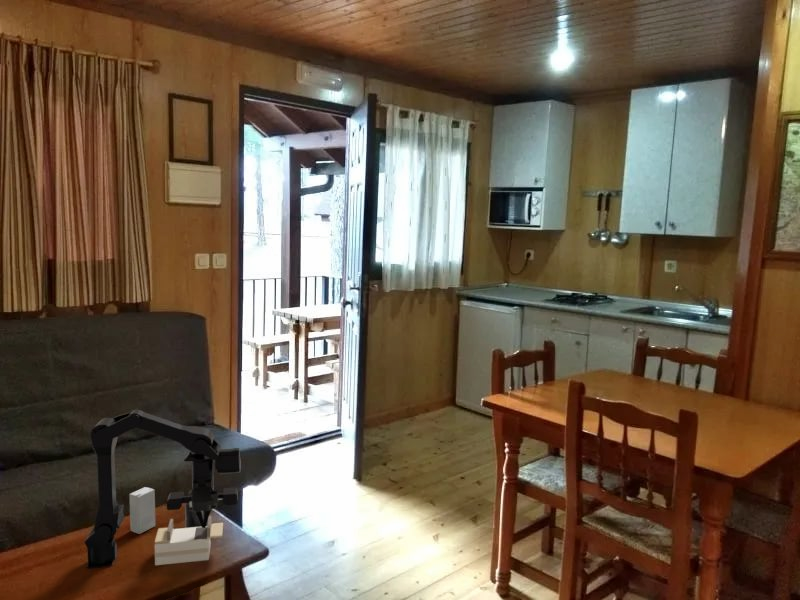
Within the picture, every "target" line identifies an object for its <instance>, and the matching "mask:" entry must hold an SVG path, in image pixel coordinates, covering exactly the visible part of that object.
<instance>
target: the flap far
mask: <svg viewBox="0 0 800 600" xmlns="http://www.w3.org/2000/svg"><path fill="white" fill-rule="evenodd" d="M212 520H213V518H212V515H209V517H208V524H207V539H208V538H210V539H216V538H217V539H218V538H223V531H224V529H223V528H224V522H217V523H212V522H213V521H212Z"/></svg>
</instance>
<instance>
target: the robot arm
mask: <svg viewBox="0 0 800 600" xmlns="http://www.w3.org/2000/svg"><path fill="white" fill-rule="evenodd" d="M133 429H139V430H142V431H144V432H146V433H147V432H148V433H150V434H154V435H156V436H159V437H162V438H166V439H168V440H171V441H173V442H177V444H180V445H181V446H182V447H184V448H185V449H187V450H188V451H189V452H188V453H187V454H185V457H184V459H183V461H184V462H191V484H192V485H191V486H192V487H191V488H192V489H191V490H192V492H191V495H190V496H188V495H185V492H184V491H174V492H170V493H169V494H168V497H167V499H166V510H168V511H176V510H178V511H179V510H180V509H181V508H182V507H183V504H185V503H189V505H190V507H189V510H190V511H194V512H195V513H196V515H197V516H198V518H199V521H200V523H201V526H202V528H205V527H206V524H207V520H208V517H209V516H211V515H210V514H211V513H212V511H213V510H215V509H217V507H218V504H219V501H222V504H224V505H225V506H231V505H233V506H235V505H237V504H238V502H239V499H238V498H239V497H238V496H239V490H238V488H237V487H225V488H223V489H222V490H223V492H219V491H218V490H215V489H214V487H215V485H214V483H215V482H214V481H215V480H214V470H215V471H216V473H218V474H219V475H225V474H226V475H227V474H236V473H237V474H238V473H239V474H240V473H241V469H242V468H241V464H242V461H241V455H240V447H234V448H226V449H225V448H224V449H221V448H222V446H221V445H220V444H219V442H217V440H216V439H215V438H214V433H213V431H212V430H211V429H209V428H207V427H203V426H198V425H197V426H195V425H182V424H181V423H176V422H173V421H170V420H168V419H165V418H162V417H159V416H156V415H153V414H151V413H149V412H148V413H147V412H145V411H143V410H141V409H132V410H131V411H130V412H125V413H124V414H123V413H122V414H119V415H117V416H114V417H104V418H102V419H100V420H99V421H98V422H97V423H96V425H94V427H93V428H92V429H91V431H90V434H89V438H90V443H91V446H92V449H93V450H94V454H95V455H96V462H97V463H96V464H97V466H96V467H97V468H96V469H97V494H98V497H97V498H98V508H97V512H96V515H95V519H94V525H93V527H92V529H91V530H90V532H89V534H88V535H87V536H86V539H85V540H84V545H85V546H86V550H87V552H86V553H87V563H86V567H85V568H86V569H93V568H102V567H112V566H113V564H114V562H115V561H116V559H117V556H118V544H117V543H118V542H117V541H115V535H116V533H117V531H118V530H119V528H120V527H121V525H122V523H123V522H124V519H125V515H124V514H125V513H124V508H125V507H124V503H123V504H119V503H118V501H117V491H116V490H117V489H116V462H115V459H116V457H115V455H116V454H115V450H116V446H117V442H118V439H119V438H118V437H120V436H121V435H123V434H125V433H127V432H129V431H130V430H133ZM214 463H215V465H214ZM203 510H205V516H203Z"/></svg>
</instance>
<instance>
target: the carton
mask: <svg viewBox="0 0 800 600" xmlns="http://www.w3.org/2000/svg"><path fill="white" fill-rule="evenodd" d="M210 551H211V538H208V539H207V526H206V527H205V528H202V527H191V528H186V527H182V528H174V529H173V533H172V537H171V541H170V542H166V543H155V542H154V566H162V565H163V566H164V565H173V564H181V563H183V564H184V563H191V562H193V563H194V562H201V561H202V562H203V561H209V560H210V553H211V552H210Z"/></svg>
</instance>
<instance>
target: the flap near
mask: <svg viewBox="0 0 800 600" xmlns="http://www.w3.org/2000/svg"><path fill="white" fill-rule="evenodd" d="M173 529H175V528H174V518H170V519H169V523H168V527H158V529H157V532H156V536H155V539H154V544H155V543H166V542H170V541H171V537H172V533H173Z"/></svg>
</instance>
